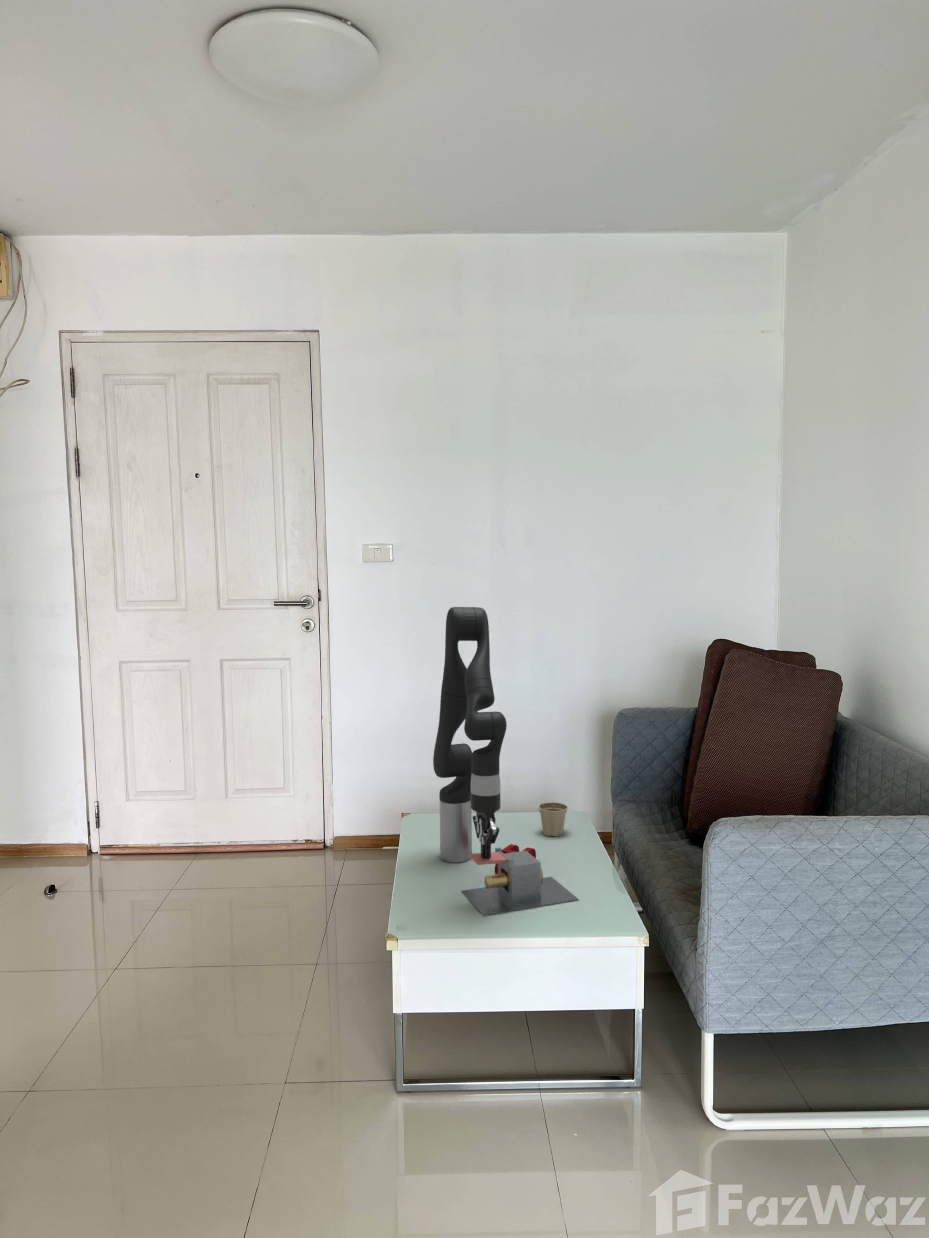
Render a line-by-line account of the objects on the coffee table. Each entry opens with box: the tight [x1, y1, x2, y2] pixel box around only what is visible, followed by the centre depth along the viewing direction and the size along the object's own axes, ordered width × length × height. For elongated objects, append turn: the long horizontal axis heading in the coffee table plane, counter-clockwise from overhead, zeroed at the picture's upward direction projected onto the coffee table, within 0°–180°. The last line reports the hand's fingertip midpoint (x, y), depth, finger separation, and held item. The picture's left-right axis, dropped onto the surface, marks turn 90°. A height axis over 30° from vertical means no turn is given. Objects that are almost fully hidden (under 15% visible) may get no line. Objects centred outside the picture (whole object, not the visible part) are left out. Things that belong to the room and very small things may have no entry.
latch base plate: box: [461, 847, 580, 917], centre depth 224 cm, size 16×26×12 cm, turn 110°
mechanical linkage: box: [494, 843, 537, 875], centre depth 242 cm, size 16×7×5 cm, turn 149°
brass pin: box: [484, 868, 544, 889], centre depth 223 cm, size 6×14×6 cm, turn 110°
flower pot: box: [537, 801, 569, 837], centre depth 271 cm, size 9×9×9 cm
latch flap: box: [469, 851, 509, 866], centre depth 220 cm, size 7×9×1 cm
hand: (485, 857), depth 220 cm, fingers closed
